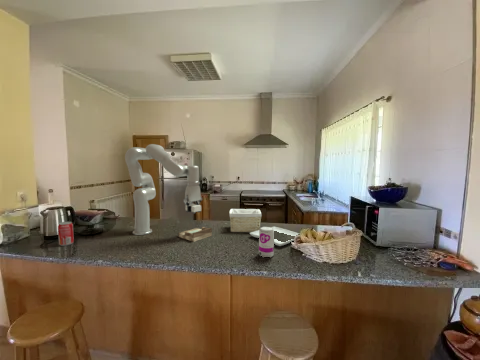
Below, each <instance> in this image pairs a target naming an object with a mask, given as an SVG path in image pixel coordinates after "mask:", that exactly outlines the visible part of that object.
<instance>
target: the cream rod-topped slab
mask: <svg viewBox="0 0 480 360" xmlns="http://www.w3.org/2000/svg"><path fill="white" fill-rule="evenodd" d="M190 206H191V212H190V213H191V214H193V215H194V214H196V212H197V213H201V212H202V205H201V204H199V205H196V203H193V202H191V205H190ZM184 208H185V212H186V213H189V212H188V211H187V205H186V204H185V203H184Z"/></svg>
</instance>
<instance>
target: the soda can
mask: <svg viewBox="0 0 480 360" xmlns="http://www.w3.org/2000/svg"><path fill="white" fill-rule="evenodd" d="M57 234H58V235H57V237H58V245H59V246H61V247H66V246H70V245H72V244H74V242H75V239H74V236H75V235H74V224H73V222H72V221H63V222H59V223H58V226H57Z"/></svg>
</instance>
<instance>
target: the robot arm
mask: <svg viewBox="0 0 480 360" xmlns="http://www.w3.org/2000/svg"><path fill="white" fill-rule="evenodd" d="M124 160H125V164H126V167H127V170H128V174H129V177H130V178H129V179H130V180H131V184H132V185H133V186H134V187H138V188H137V189H135V190H134V192H133V194H132V197H133V198H132V200H133V203H134V226H133V227H134V230H132V234H133V235H135V236H143V235H148V234H151V233H152V232H153V229H152V228H150V226H151V225H150V224H151V223H150V222H151V221H150V215H151V214H150V204H149V201H150V200H153V199H155V198H156V195H157V192H156V187H155V183H154V180H153V177H152V175H151V174H150V173H149V172H143V168H142V165H141V164H140V162H139V161H141V160H142V161H143V160H144V161H146V160H147V161H149V160H155V161H156V162H158V163H160V165H162V168H164V170H165V171H166V172H167V173H170V174H171V175H173V176H174V177H177V178H180V177H186V178H187V179H186V180H187V184H186V185H187V186H185V191H184V192H185V193H184V199H183V203H184V205H185V204H186V205H187V211H188V212H187V213H192V212H191V206H190V205H191V202H192V203H193V202H194V203H195V204H196V205H201V202H202V201H203V197H202V195H201V186H200V169H199V167H200V166H198V165H186V164H185V165H184V164H183V165H182V164H177V162H174V161H173V160H172V159H171V154H169V153H168V152H167V151H165V148H164V147H163V146H162V145H159V144H155V143H150V144H148V145H146V147H145V148H144V147H138V146H136V147H135V146H133V147H130V148H128V149H127V151H126V152H125V154H124Z"/></svg>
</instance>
